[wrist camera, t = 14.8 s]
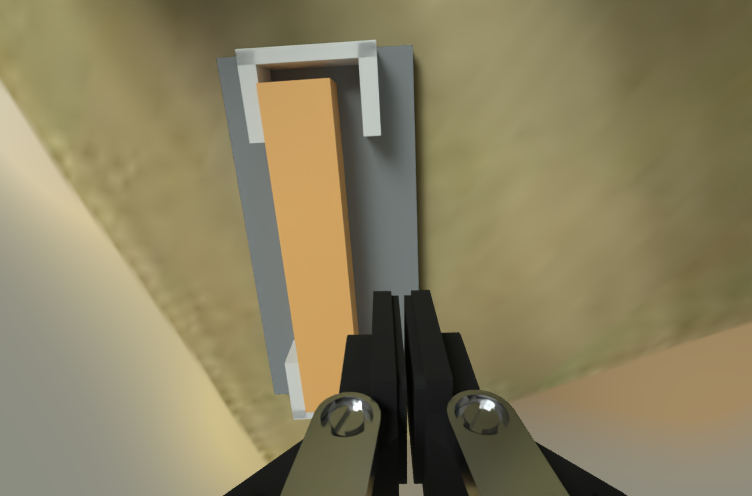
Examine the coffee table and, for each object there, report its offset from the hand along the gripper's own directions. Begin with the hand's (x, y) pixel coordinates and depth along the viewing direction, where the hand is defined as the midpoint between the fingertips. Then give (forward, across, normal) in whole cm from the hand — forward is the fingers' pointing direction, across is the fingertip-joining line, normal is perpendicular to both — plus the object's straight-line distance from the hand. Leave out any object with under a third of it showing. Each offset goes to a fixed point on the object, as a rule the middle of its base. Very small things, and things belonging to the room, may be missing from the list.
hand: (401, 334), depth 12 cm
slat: (+16, +5, +3) cm, 17 cm away
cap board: (+17, +4, +3) cm, 18 cm away
